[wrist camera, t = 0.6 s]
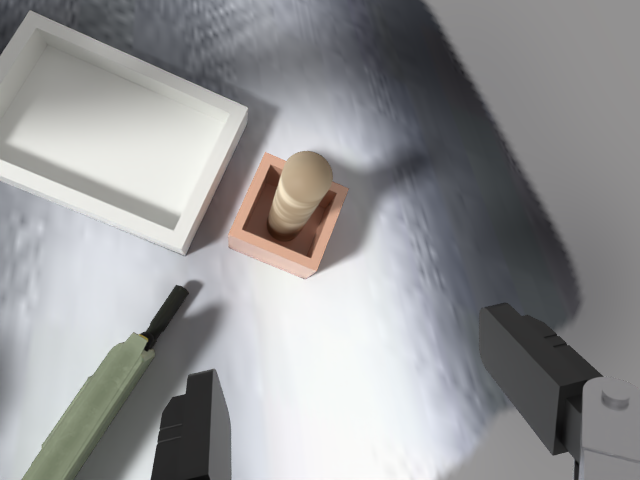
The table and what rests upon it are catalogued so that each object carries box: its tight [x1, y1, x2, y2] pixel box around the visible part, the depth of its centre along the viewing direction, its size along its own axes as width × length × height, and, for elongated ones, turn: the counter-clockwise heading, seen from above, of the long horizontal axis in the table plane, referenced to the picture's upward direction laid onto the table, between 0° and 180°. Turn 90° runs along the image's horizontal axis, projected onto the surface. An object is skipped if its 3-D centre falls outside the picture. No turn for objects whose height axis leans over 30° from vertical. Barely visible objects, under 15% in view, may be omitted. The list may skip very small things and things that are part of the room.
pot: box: [228, 152, 349, 279], centre depth 41 cm, size 8×8×6 cm
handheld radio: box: [22, 285, 189, 480], centre depth 35 cm, size 7×3×25 cm
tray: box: [0, 10, 248, 256], centre depth 41 cm, size 20×14×4 cm
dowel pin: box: [267, 151, 333, 241], centre depth 36 cm, size 3×3×14 cm
